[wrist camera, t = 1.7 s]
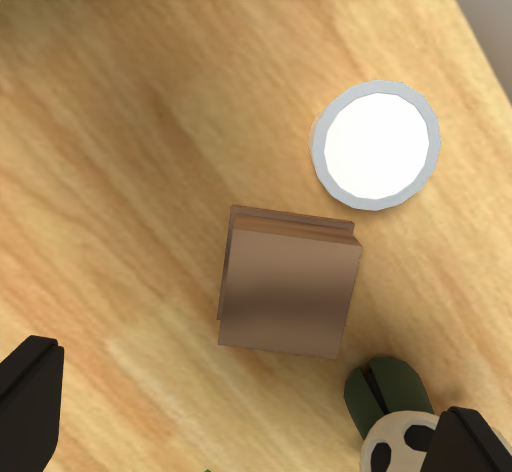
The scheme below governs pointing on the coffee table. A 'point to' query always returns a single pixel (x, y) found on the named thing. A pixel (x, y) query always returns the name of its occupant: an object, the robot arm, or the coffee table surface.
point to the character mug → (392, 416)
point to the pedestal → (287, 282)
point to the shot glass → (375, 144)
